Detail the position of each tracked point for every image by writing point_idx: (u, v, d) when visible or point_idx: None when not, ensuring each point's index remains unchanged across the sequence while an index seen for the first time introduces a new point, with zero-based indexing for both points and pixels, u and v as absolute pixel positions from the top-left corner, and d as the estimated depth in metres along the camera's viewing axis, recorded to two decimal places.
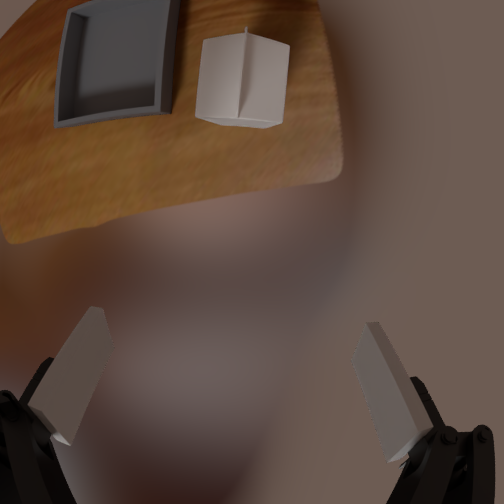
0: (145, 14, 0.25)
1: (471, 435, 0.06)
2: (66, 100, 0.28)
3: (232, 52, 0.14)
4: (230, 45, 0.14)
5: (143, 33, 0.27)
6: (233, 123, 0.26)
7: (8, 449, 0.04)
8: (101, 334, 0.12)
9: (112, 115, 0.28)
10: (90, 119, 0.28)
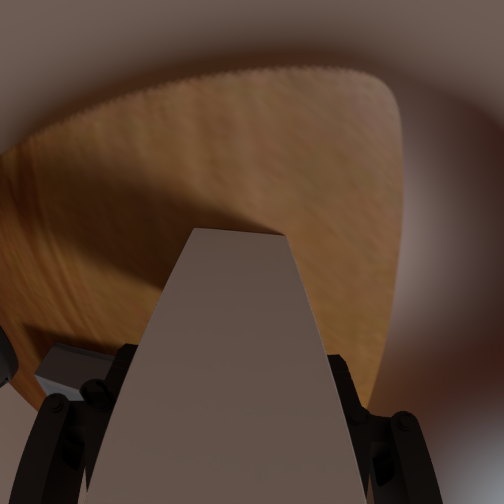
0: None
1: (389, 425, 0.07)
2: None
3: None
4: None
5: None
6: None
7: (86, 439, 0.06)
8: None
9: None
10: None
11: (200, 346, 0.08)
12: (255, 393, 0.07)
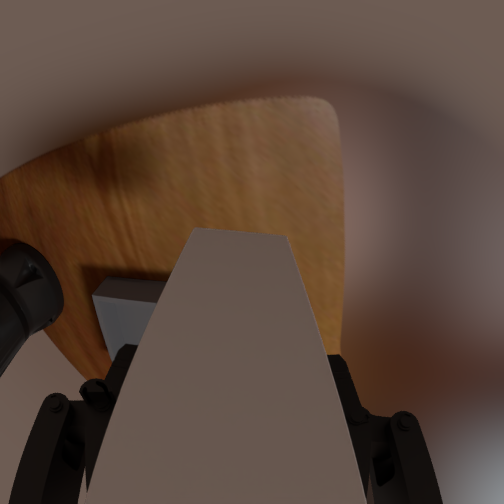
0: (130, 310, 0.37)
1: (389, 425, 0.07)
2: None
3: None
4: None
5: (152, 312, 0.37)
6: None
7: (86, 438, 0.06)
8: None
9: None
10: None
11: (200, 345, 0.08)
12: (255, 392, 0.07)
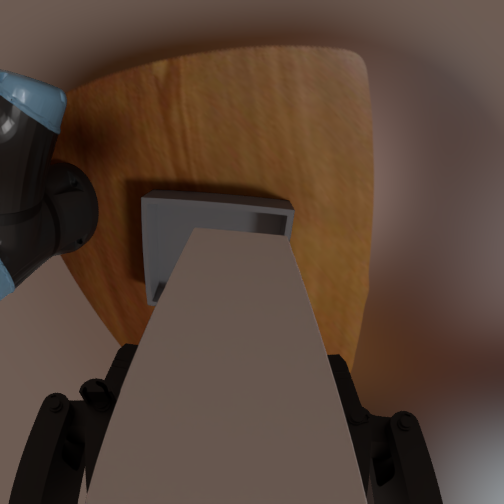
0: (172, 224, 0.39)
1: (389, 426, 0.07)
2: None
3: None
4: None
5: (195, 225, 0.39)
6: None
7: (86, 439, 0.06)
8: None
9: None
10: None
11: (200, 346, 0.08)
12: (255, 393, 0.07)
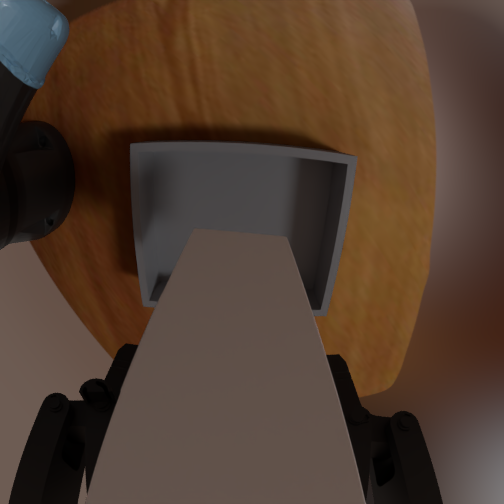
0: (176, 188, 0.27)
1: (389, 425, 0.07)
2: None
3: None
4: None
5: (209, 187, 0.27)
6: None
7: (86, 439, 0.06)
8: None
9: (344, 226, 0.25)
10: (338, 260, 0.26)
11: (200, 347, 0.08)
12: (255, 394, 0.07)
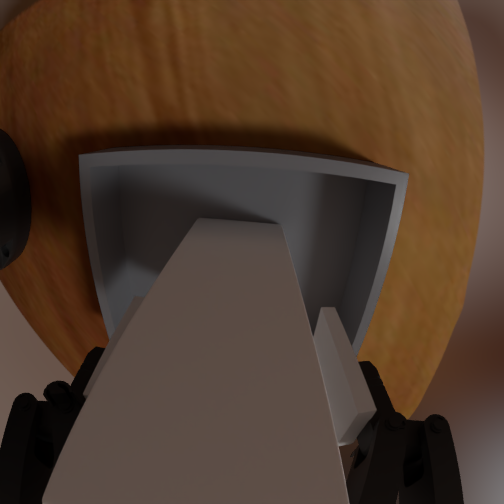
0: (150, 212, 0.19)
1: (423, 427, 0.07)
2: None
3: None
4: None
5: (195, 212, 0.19)
6: None
7: (54, 440, 0.05)
8: None
9: (384, 271, 0.17)
10: (371, 313, 0.18)
11: (196, 297, 0.10)
12: (239, 331, 0.08)
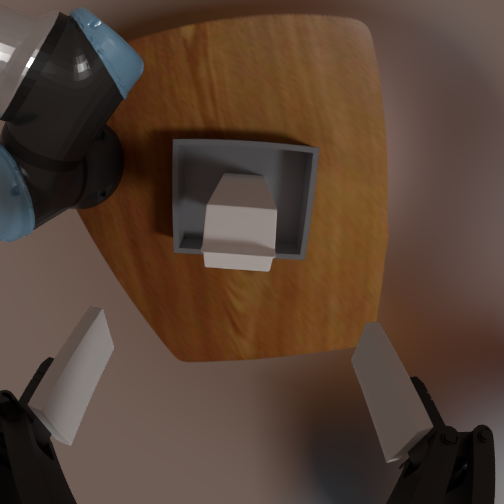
0: (200, 170, 0.40)
1: (471, 435, 0.06)
2: (277, 248, 0.43)
3: None
4: None
5: (223, 170, 0.40)
6: None
7: (8, 449, 0.04)
8: (101, 334, 0.12)
9: (312, 194, 0.37)
10: (309, 217, 0.39)
11: (234, 186, 0.31)
12: (248, 190, 0.29)
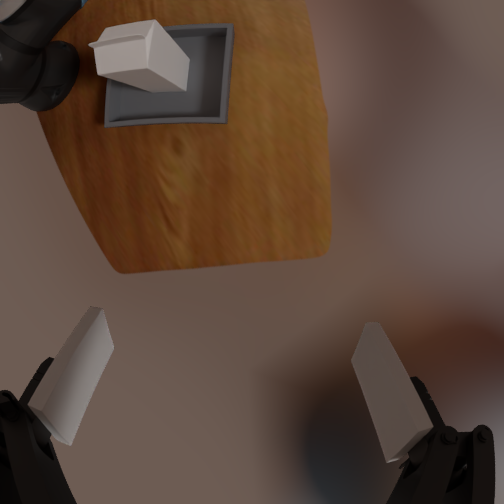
0: None
1: (471, 435, 0.06)
2: None
3: (105, 52, 0.19)
4: (101, 54, 0.19)
5: None
6: (173, 67, 0.29)
7: (8, 449, 0.04)
8: (101, 334, 0.12)
9: (228, 59, 0.33)
10: (226, 80, 0.34)
11: None
12: None
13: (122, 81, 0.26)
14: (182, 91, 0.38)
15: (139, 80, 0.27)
